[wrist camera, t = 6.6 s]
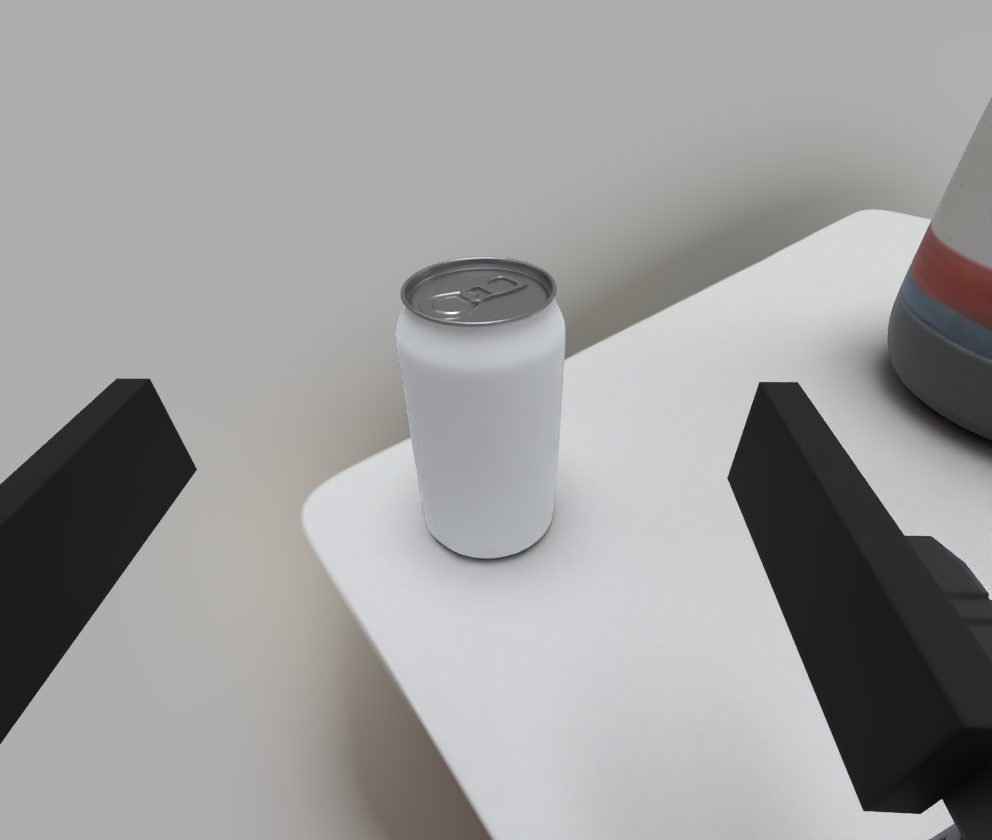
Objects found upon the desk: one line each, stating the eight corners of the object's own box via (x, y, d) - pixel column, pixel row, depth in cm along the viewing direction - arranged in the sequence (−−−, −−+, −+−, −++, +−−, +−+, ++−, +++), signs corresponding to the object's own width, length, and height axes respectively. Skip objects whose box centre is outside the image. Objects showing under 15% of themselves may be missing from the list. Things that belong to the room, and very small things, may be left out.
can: (399, 506, 27) (354, 284, 20) (496, 449, 30) (490, 240, 23) (479, 590, 23) (461, 352, 16) (581, 515, 26) (607, 287, 19)
